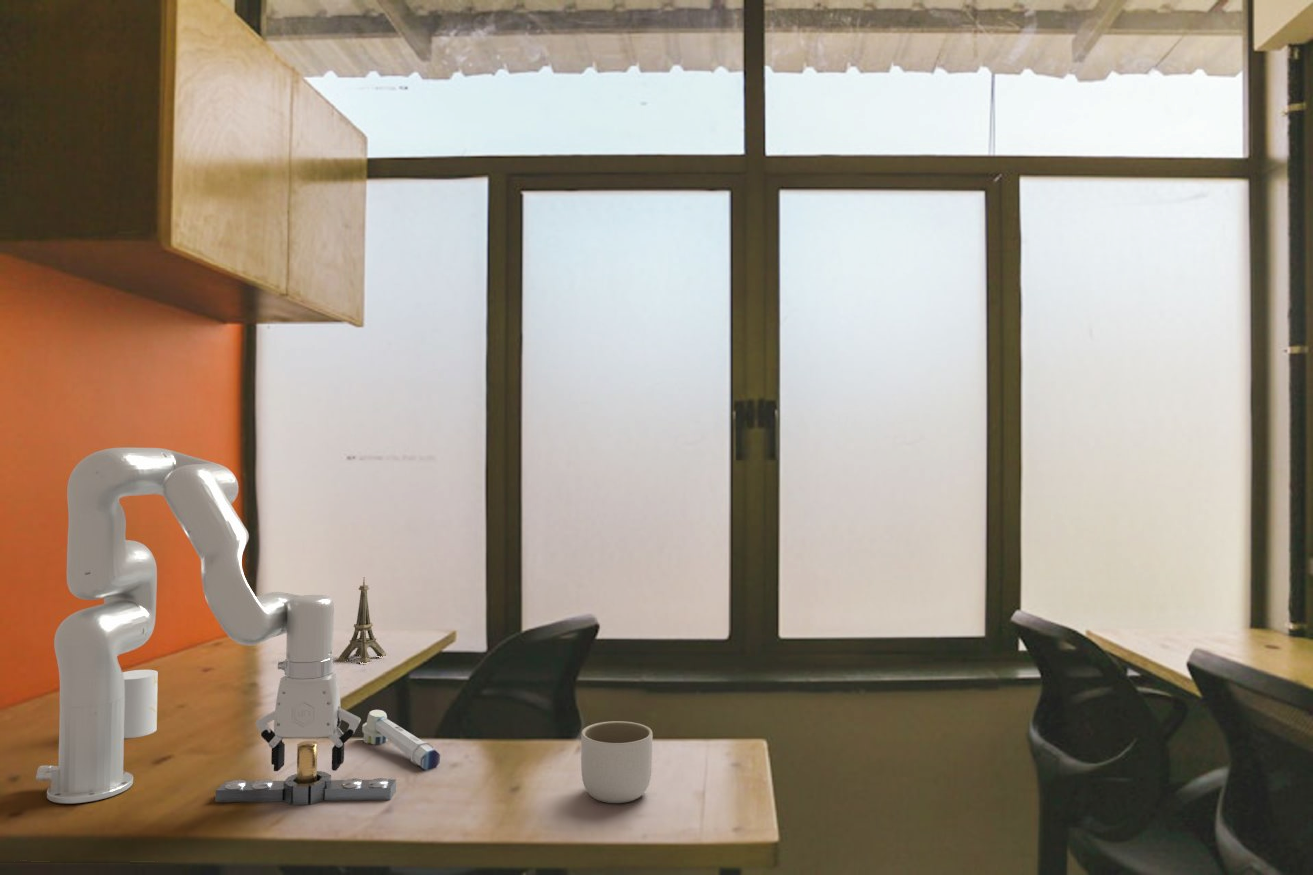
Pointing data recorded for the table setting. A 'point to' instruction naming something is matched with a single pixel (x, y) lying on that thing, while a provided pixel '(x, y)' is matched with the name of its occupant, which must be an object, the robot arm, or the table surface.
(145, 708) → the cup
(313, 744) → the pin
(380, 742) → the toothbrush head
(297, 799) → the studded octagon ring bar
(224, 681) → the table surface
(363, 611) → the eiffel tower
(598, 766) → the planter
